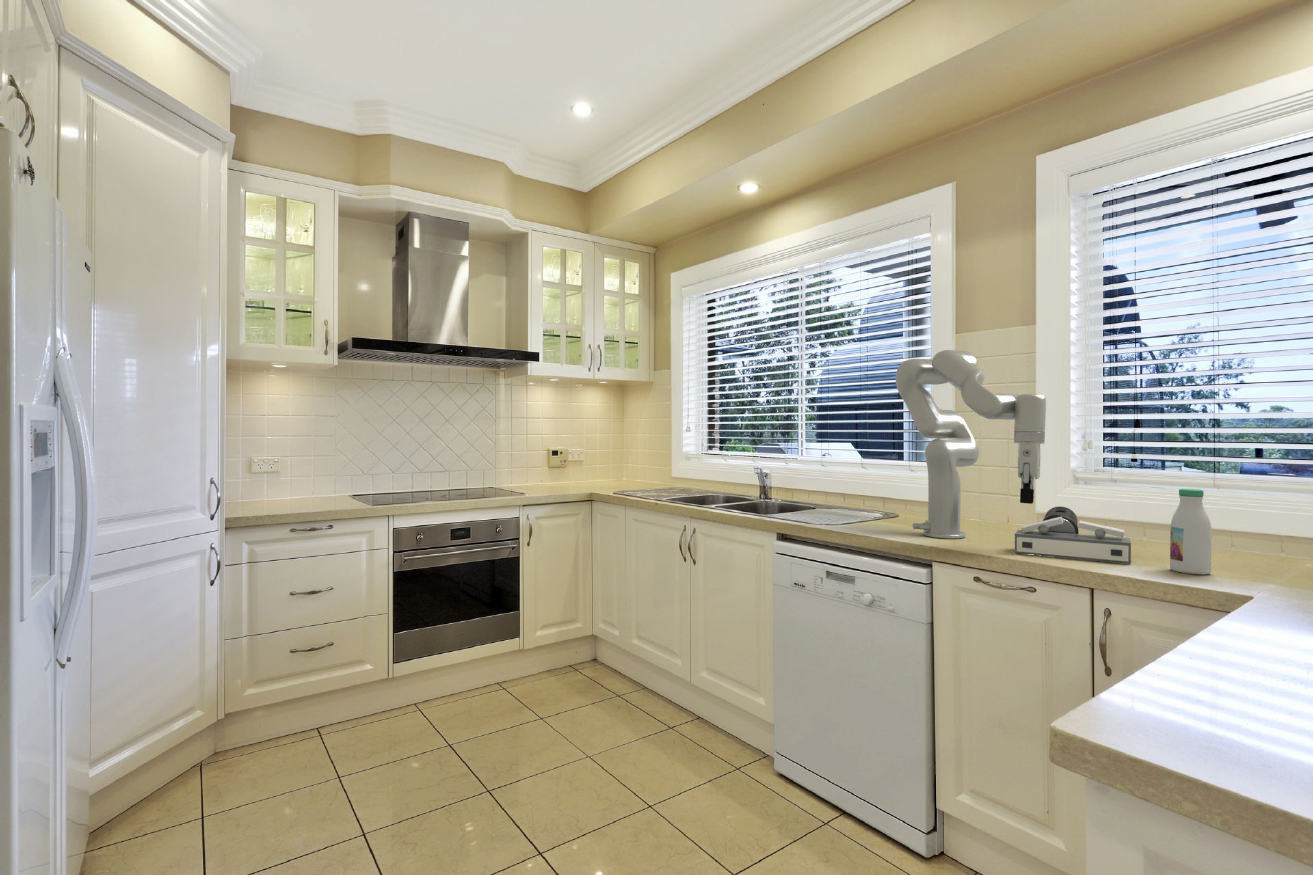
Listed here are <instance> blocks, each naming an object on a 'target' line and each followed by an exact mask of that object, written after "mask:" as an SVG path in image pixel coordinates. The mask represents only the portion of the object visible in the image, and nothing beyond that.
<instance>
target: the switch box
mask: <svg viewBox="0 0 1313 875" xmlns="http://www.w3.org/2000/svg"><path fill="white" fill-rule="evenodd" d="M1015 553H1019V554H1018V555H1023V554H1034V555H1041V556H1040V557H1044V556H1054V557H1053V558H1055V557H1059V558H1058V559H1065V558H1066V559H1067V560H1068V559H1069V560H1076V559H1081V560H1080V561H1087V560H1089V561H1090V562H1097V561H1102V562H1101V563H1108V562H1109V563H1110V564H1119V563H1123V564H1122V565H1129V564H1131V565H1132V561H1131V560H1132V542H1131V538H1130V537H1118V536H1106V535H1105V536H1104V537H1103V538H1098V537H1096V536H1095V534H1094V535H1093V534H1092V535H1091V534H1079V533H1078V534H1069V533H1055V532H1046V533H1040V532H1039V531H1038V530H1034V531H1030V532H1025V533H1023V532H1022V529H1017V531H1015V533H1014V554H1015Z"/></svg>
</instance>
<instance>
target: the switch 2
mask: <svg viewBox="0 0 1313 875" xmlns="http://www.w3.org/2000/svg"><path fill="white" fill-rule="evenodd" d="M1078 529H1082V530H1087V531H1092V532H1094V535H1095V536H1096V537H1098V538H1103V537H1104V536H1106V535H1110V536H1112V537H1122V538H1124V535H1125V530H1124V529H1121V528H1116V527H1112V526H1106V525H1102V524H1099V523H1098V524H1097V523H1094V522H1089V521H1084V520H1079V522H1078Z"/></svg>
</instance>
